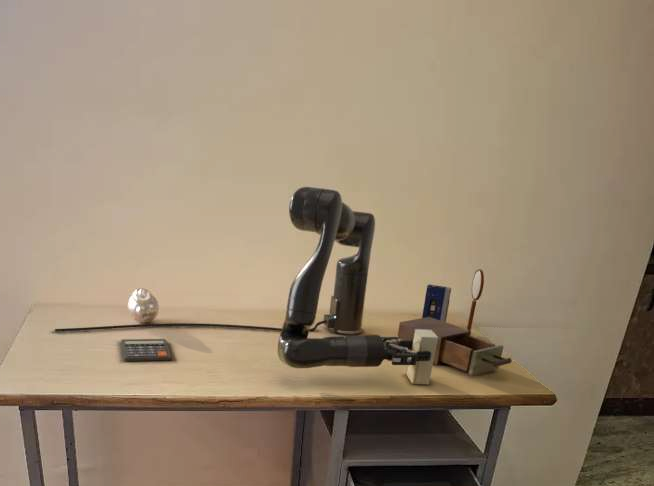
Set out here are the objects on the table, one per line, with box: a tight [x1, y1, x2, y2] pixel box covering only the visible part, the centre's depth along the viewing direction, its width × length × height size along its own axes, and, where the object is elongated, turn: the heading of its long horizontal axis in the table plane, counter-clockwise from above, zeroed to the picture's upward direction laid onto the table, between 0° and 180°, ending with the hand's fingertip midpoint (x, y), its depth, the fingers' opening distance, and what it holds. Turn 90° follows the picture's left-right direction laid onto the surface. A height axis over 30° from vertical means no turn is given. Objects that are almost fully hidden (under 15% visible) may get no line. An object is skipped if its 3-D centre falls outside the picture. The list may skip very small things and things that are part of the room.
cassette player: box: [421, 284, 452, 323], centre depth 218 cm, size 7×2×12 cm, turn 67°
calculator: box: [120, 338, 172, 362], centre depth 182 cm, size 12×1×15 cm
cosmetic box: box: [406, 329, 438, 385], centre depth 173 cm, size 6×4×12 cm
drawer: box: [439, 334, 512, 376], centre depth 184 cm, size 19×11×6 cm, turn 38°
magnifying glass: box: [466, 268, 485, 332], centre depth 206 cm, size 9×2×20 cm, turn 0°
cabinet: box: [397, 317, 472, 366], centre depth 193 cm, size 15×12×8 cm
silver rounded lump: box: [127, 287, 160, 324], centre depth 201 cm, size 9×10×10 cm
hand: (423, 350), depth 172 cm, fingers open, 8 cm apart
